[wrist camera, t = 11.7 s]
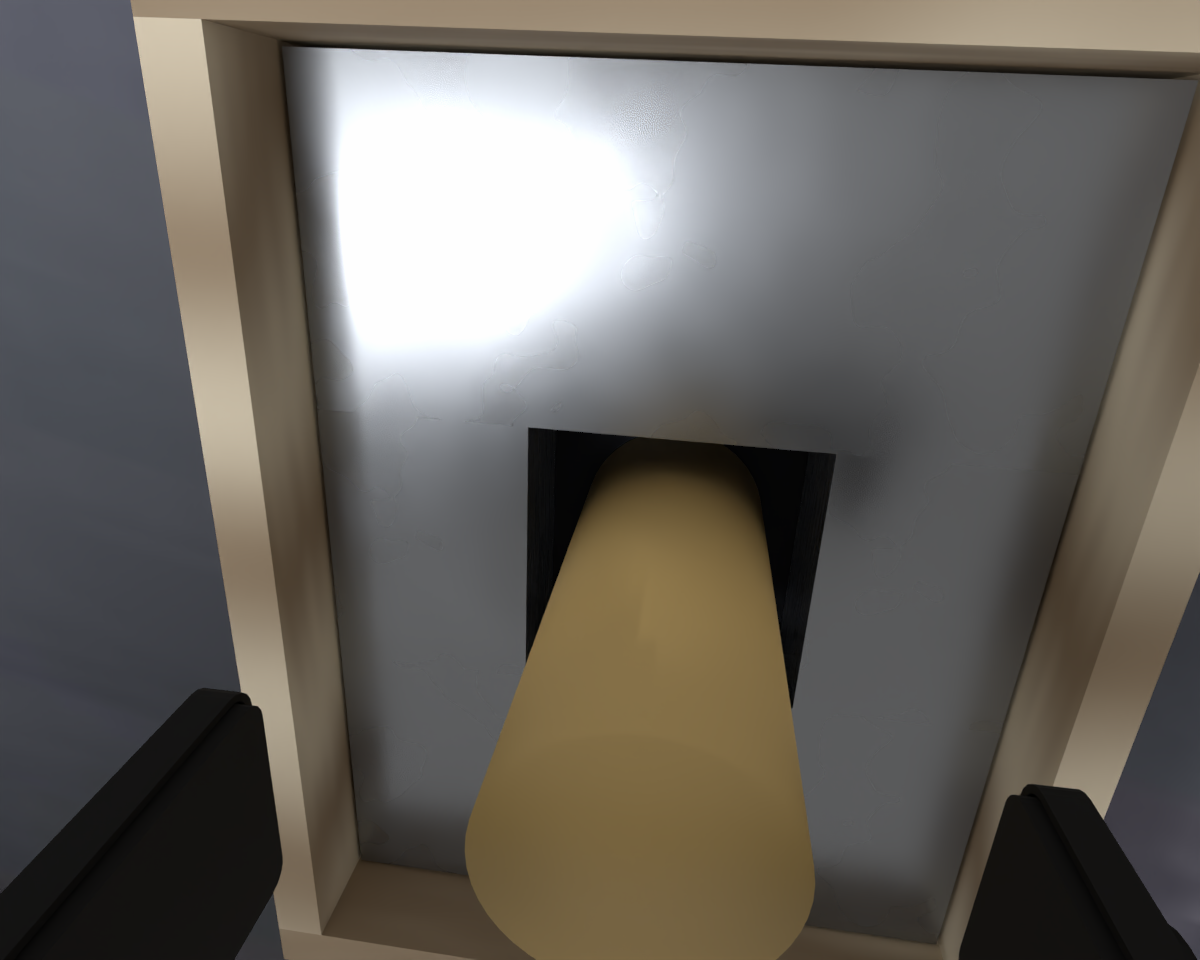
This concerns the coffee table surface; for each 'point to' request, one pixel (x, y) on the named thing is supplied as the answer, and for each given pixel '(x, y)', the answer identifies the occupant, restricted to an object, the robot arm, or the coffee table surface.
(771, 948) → the peg
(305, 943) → the open box
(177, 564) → the coffee table surface
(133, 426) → the coffee table surface
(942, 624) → the bore plate
